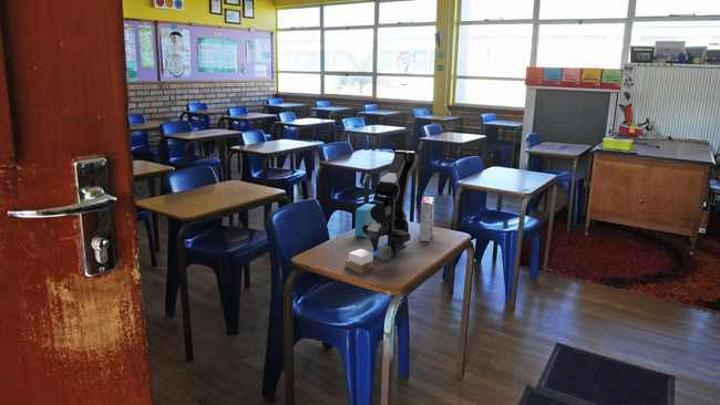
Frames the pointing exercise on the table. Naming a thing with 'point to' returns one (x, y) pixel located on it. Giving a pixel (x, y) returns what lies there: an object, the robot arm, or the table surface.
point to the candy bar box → (426, 219)
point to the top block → (361, 256)
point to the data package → (363, 219)
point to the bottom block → (358, 266)
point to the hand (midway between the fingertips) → (384, 254)
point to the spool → (384, 252)
